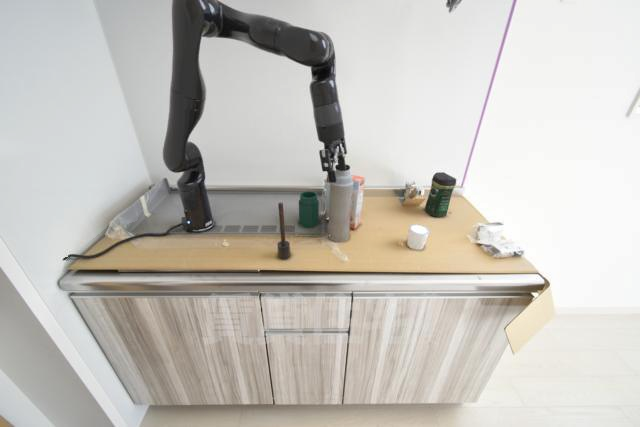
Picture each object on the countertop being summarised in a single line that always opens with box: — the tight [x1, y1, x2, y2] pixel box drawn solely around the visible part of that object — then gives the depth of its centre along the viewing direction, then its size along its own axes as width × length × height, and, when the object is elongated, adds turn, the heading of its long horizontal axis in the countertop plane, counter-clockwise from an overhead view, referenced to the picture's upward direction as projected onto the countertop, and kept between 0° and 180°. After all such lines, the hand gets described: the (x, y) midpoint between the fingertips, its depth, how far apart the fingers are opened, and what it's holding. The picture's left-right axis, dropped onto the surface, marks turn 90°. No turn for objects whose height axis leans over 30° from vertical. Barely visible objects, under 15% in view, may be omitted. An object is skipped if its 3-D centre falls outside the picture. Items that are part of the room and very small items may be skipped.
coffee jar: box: [424, 171, 457, 218], centre depth 106 cm, size 10×8×19 cm
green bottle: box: [298, 190, 320, 229], centre depth 98 cm, size 8×8×13 cm
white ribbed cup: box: [406, 224, 430, 251], centre depth 87 cm, size 7×7×7 cm
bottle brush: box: [276, 202, 291, 261], centre depth 77 cm, size 4×4×20 cm
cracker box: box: [325, 174, 366, 230], centre depth 97 cm, size 14×6×21 cm, turn 58°
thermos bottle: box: [327, 164, 354, 243], centre depth 86 cm, size 8×8×28 cm
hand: (338, 176), depth 73 cm, fingers open, 8 cm apart
